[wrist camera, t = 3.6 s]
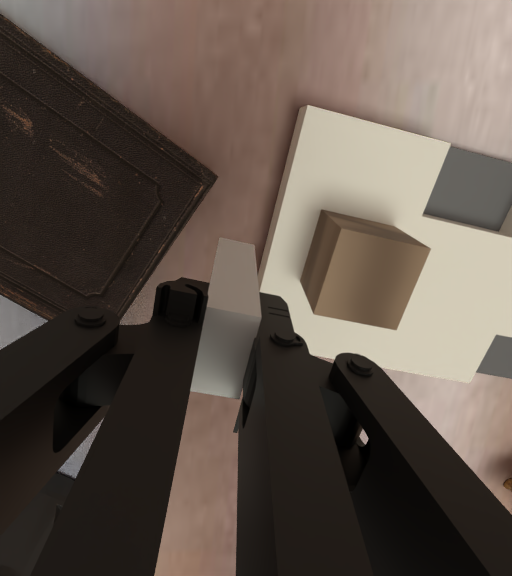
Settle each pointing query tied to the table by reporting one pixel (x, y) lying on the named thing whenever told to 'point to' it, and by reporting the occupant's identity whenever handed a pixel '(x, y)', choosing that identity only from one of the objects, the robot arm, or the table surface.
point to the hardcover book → (81, 187)
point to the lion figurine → (508, 484)
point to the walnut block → (361, 270)
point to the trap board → (413, 221)
